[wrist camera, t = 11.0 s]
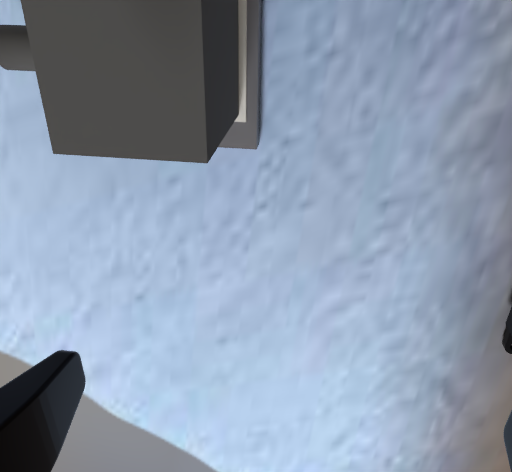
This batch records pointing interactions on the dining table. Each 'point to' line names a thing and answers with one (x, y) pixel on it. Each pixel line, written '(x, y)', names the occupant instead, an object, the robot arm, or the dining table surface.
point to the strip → (247, 78)
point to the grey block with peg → (131, 74)
